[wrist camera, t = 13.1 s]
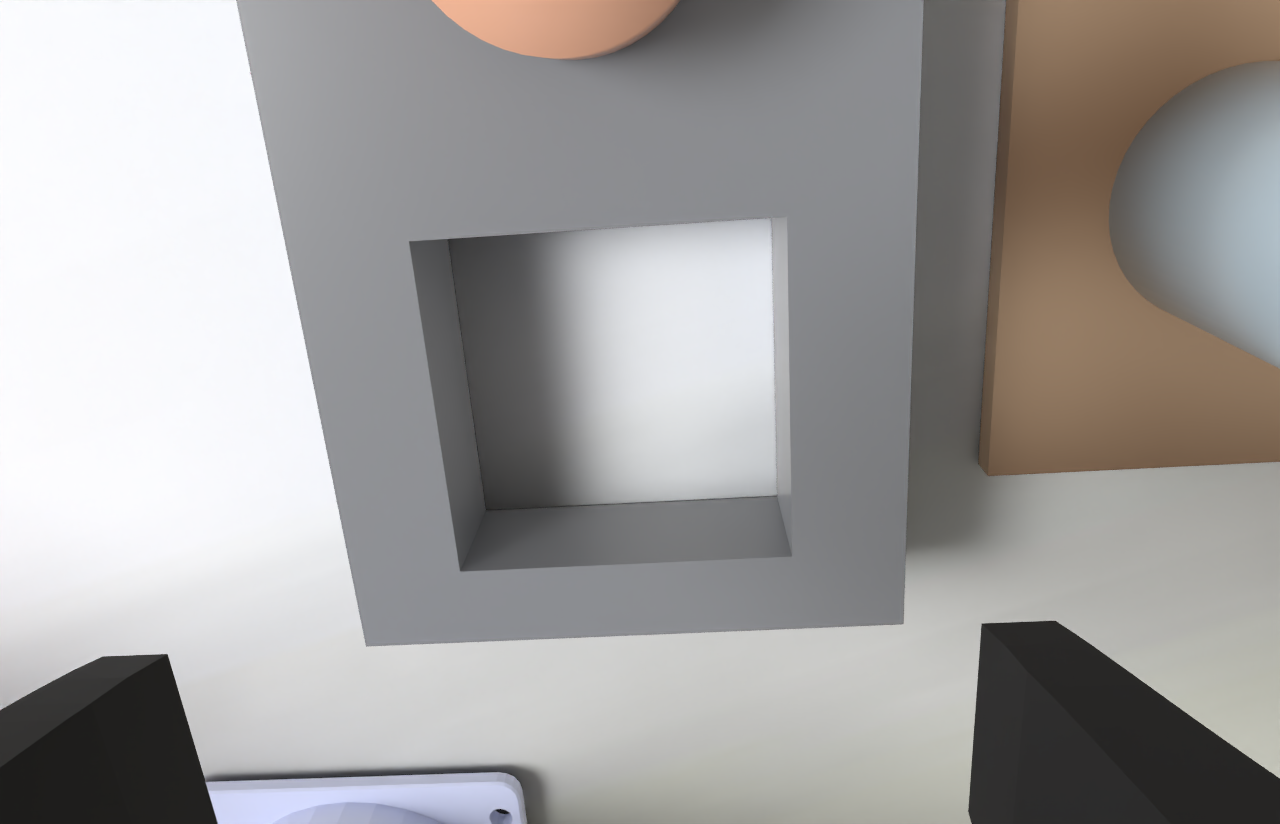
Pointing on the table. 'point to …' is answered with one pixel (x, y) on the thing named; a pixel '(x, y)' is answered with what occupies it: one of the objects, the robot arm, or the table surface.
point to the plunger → (558, 24)
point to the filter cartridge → (1208, 208)
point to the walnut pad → (1105, 250)
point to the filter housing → (584, 200)
